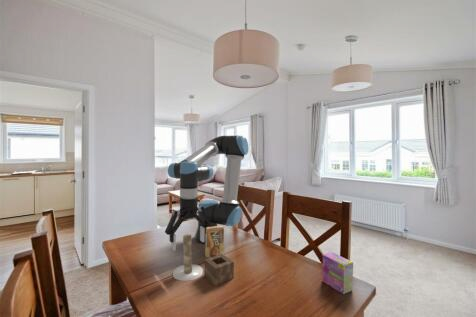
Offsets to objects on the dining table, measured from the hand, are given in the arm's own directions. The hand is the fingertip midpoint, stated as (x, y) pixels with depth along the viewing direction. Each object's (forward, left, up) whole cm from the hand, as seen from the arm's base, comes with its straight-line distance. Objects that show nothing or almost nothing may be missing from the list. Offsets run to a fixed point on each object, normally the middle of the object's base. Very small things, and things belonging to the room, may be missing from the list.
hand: (188, 245), depth 99 cm
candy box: (-18, -7, -13) cm, 23 cm away
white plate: (0, 0, -13) cm, 13 cm away
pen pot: (-9, +11, -13) cm, 19 cm away
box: (-45, +44, -13) cm, 65 cm away
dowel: (0, 0, -12) cm, 12 cm away
